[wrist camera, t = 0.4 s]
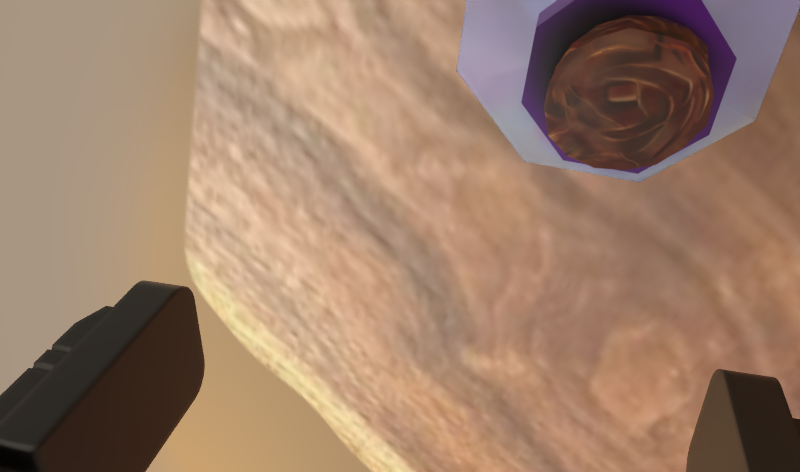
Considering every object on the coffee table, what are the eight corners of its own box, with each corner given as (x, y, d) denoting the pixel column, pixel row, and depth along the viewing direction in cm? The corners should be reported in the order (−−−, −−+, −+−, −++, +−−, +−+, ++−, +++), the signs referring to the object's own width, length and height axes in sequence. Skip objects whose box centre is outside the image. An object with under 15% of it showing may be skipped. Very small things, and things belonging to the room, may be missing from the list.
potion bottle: (740, -209, 20) (888, -226, 10) (757, 73, 24) (877, 259, 14) (456, -118, 23) (357, -62, 13) (511, 121, 27) (467, 304, 17)
